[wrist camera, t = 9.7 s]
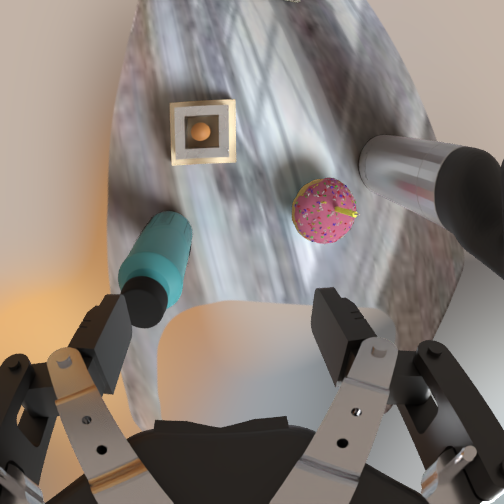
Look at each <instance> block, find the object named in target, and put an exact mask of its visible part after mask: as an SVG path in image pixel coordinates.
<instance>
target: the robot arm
mask: <svg viewBox="0 0 504 504" xmlns="http://www.w3.org/2000/svg"><path fill="white" fill-rule="evenodd" d="M359 171H360V176H361V178H362V181H363V183H364V184H365V185H366V187H367V188H368V189H369V190H371V191H372V192H374V193H376V194H378V195H380V196H382V197H384V198H386V199H388V200H390V201H392V202H394V203H396V204H398V205H400V206H402V207H404V208H406V209H408V210H410V211H412V212H414V213H416V214H418V215H420V216H422V217H424V218H426V219H428V220H429V221H431V222H433V223H435V224H437V225H439V226H441V227H443V228H444V229H446V230H448V231H450V232H451V233H453V234H454V235H455V237H456V239H457V240H458V242H459V243H460V245H461V246H462V247H463V248H464V249H465V250H466V251H467V252H469V253H470V254H472V255H473V256H474V257H475V258H477V259H478V260H479V261H481V262H482V263H483V264H485V265H486V266H487V267H488V268H490V269H491V270H492V271H493V272H495V273H496V274H497V275H498V276H500V277H501V278H502V279H503V280H504V160H503V162H502V165H501V167H500V165H499V163H498V162H497V161H496V159H495V158H494V157H493V156H492V155H490V154H489V153H488V152H486V151H484V150H480V149H477V148H472V147H467V146H462V145H456V144H450V143H444V142H438V141H431V140H424V139H417V138H409V137H401V136H391V135H379V136H376V137H374V138H372V139H371V140H369V141H368V143H367V144H366V145H365V146H364V148H363V150H362V152H361V155H360V159H359ZM311 328H312V332H313V335H314V337H315V340H316V342H317V344H318V347H319V349H320V351H321V354H322V356H323V358H324V361H325V363H326V366H327V368H328V370H329V373H330V375H331V377H332V380H333V383H334V385H335V387H340V389H339V390H338V392H337V394H336V396H335V398H334V400H333V402H332V404H331V406H330V408H329V410H328V412H327V414H326V415H325V417H324V419H323V421H322V423H321V425H320V426H319V428H318V430H317V432H315V431H313V430H310V429H308V428H304V427H300V426H294V425H288V421H287V416H282V417H273V418H263V419H253V420H249V421H246V422H242V423H238V424H234V425H231V426H227V427H222V428H218V427H212V426H207V425H202V424H197V423H193V422H188V421H165V420H155V424H154V429H151V430H146V431H143V432H140V433H137V434H135V435H133V436H131V437H129V438H128V439H126V438H125V437H124V435H123V433H122V432H121V430H120V429H119V427H118V425H117V424H116V422H115V420H114V419H113V417H112V415H111V413H110V412H109V410H108V408H107V406H106V405H105V403H104V401H103V399H102V396H103V393H104V394H114V390H115V387H116V384H117V380H118V377H119V374H120V371H121V368H122V365H123V362H124V359H125V356H126V353H127V350H128V347H129V344H130V341H131V338H132V325H131V321H130V317H129V313H128V309H127V304H126V300H125V297H124V295H122V294H107V295H105V297H104V299H103V300H102V302H101V303H100V305H99V306H95V307H93V308H92V309H91V310H90V311H88V312H87V314H86V316H85V317H84V319H83V322H81V324H80V326H79V328H78V329H77V331H76V333H75V334H74V336H73V338H72V340H71V342H70V344H69V345H68V347H65V348H61V349H59V350H56V351H55V352H53V353H52V354H51V355H50V356H49V358H48V361H47V362H45V363H38V364H31V363H30V361H29V359H28V357H27V356H26V355H24V354H14V355H11V356H10V357H8V358H7V359H5V361H4V362H3V363H2V365H1V366H0V504H489V503H491V502H492V501H494V500H495V499H497V498H498V497H499V496H500V495H502V494H503V493H504V430H503V428H502V427H501V425H500V423H499V422H498V420H497V419H496V417H495V416H494V414H493V412H492V411H491V409H490V408H489V406H488V405H487V403H486V402H485V400H484V399H483V397H482V396H481V394H480V393H479V391H478V390H477V388H476V387H475V386H474V384H473V383H472V381H471V380H470V378H469V377H468V376H467V374H466V373H465V371H464V370H463V369H462V367H461V366H460V364H459V363H458V362H457V360H456V359H455V358H454V356H453V355H452V354H451V352H450V351H449V350H448V349H447V348H446V346H445V345H443V344H441V343H439V342H437V341H433V340H426V341H423V342H421V343H420V344H419V346H418V348H417V350H416V351H400V350H397V347H396V346H395V345H394V344H393V343H392V342H391V341H389V340H387V339H385V338H381V337H377V335H376V334H375V332H374V331H373V330H372V328H371V327H370V325H369V324H368V322H367V321H366V319H364V316H363V315H362V314H361V313H360V311H359V309H358V308H357V306H356V305H355V304H354V303H353V302H351V301H350V300H348V299H347V298H341V297H340V295H339V294H338V292H337V291H336V289H335V288H334V287H329V288H317V289H316V290H315V294H314V301H313V309H312V316H311ZM431 393H432V395H433V396H434V398H435V400H436V401H437V404H438V407H437V405H436V404H435V402H434V400H433V398H432V396H431ZM386 404H396V405H397V407H398V409H399V411H400V413H401V415H402V417H403V420H404V422H405V424H406V426H407V429H408V431H409V433H410V435H411V437H412V440H413V442H414V444H415V447H416V449H417V451H418V454H419V456H420V458H421V461H422V463H423V465H424V468H425V470H426V471H425V472H424V474H423V476H422V480H421V486H422V489H421V493H422V495H421V494H420V493H418V492H417V491H415V490H413V489H411V488H409V487H407V486H405V485H403V484H402V483H400V482H398V481H396V480H394V479H392V478H391V477H389V476H387V475H385V474H384V473H381V472H380V471H378V470H376V469H375V468H373V467H372V466H370V465H368V464H366V460H367V458H368V455H369V453H370V450H371V447H372V445H373V442H374V439H375V436H376V434H377V431H378V428H379V425H380V422H381V419H382V416H383V413H384V410H385V407H386ZM21 405H22V406H23V407H24V408H25V409H24V411H23V414H22V416H21V419H20V422H19V424H18V426H17V420H16V419H17V414H18V412H19V410H20V407H21ZM57 416H60V418H61V421H62V423H63V426H64V429H65V431H66V433H67V435H68V438H69V441H70V443H71V445H72V448H73V450H74V452H75V454H76V457H77V459H78V461H79V463H80V465H81V467H82V469H83V471H84V474H83V475H82V476H80V477H79V478H78V479H76V480H75V481H74V482H73V483H71V484H70V485H69V486H67V487H66V488H65V489H63V490H62V491H61V492H60V493H58V494H57V495H56V496H54V497H53V498H52V499H50V500H49V501H47V502H46V503H45V502H44V501H43V494H42V491H41V489H40V488H39V481H40V477H41V472H42V468H43V464H44V460H45V456H46V452H47V449H48V445H49V441H50V438H51V434H52V431H53V428H54V425H55V421H56V418H57Z"/></svg>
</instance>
